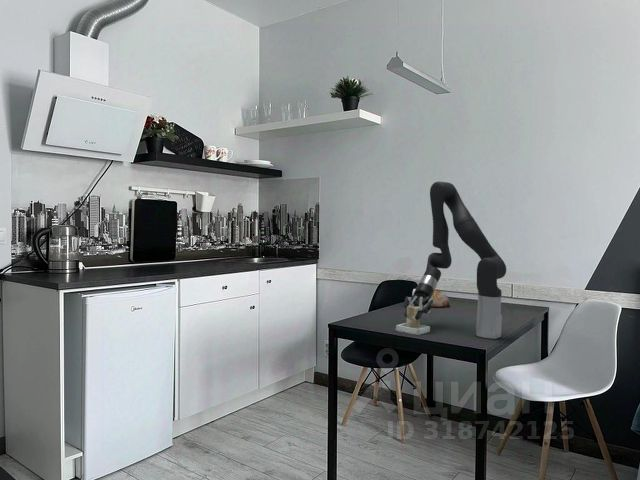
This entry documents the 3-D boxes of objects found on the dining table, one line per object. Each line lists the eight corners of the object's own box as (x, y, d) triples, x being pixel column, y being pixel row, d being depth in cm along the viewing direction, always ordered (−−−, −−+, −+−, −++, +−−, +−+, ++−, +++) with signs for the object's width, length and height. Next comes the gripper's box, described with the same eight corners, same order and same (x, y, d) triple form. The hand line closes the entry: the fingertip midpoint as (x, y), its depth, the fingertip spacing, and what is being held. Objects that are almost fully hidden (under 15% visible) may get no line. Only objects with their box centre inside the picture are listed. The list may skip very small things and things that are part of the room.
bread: (415, 307, 283) (414, 290, 283) (426, 303, 300) (426, 286, 300) (443, 309, 275) (443, 291, 275) (453, 305, 292) (453, 288, 292)
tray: (429, 332, 215) (430, 326, 215) (418, 335, 207) (418, 329, 207) (407, 327, 222) (407, 322, 222) (395, 330, 214) (395, 325, 214)
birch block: (419, 328, 215) (420, 307, 214) (415, 329, 212) (416, 308, 212) (410, 326, 217) (411, 306, 217) (406, 327, 215) (407, 306, 214)
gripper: (409, 280, 224) (393, 310, 216) (438, 283, 215) (423, 315, 206) (414, 291, 229) (399, 320, 220) (443, 295, 219) (428, 326, 211)
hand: (411, 317), depth 213 cm, fingers closed on birch block, 4 cm apart
